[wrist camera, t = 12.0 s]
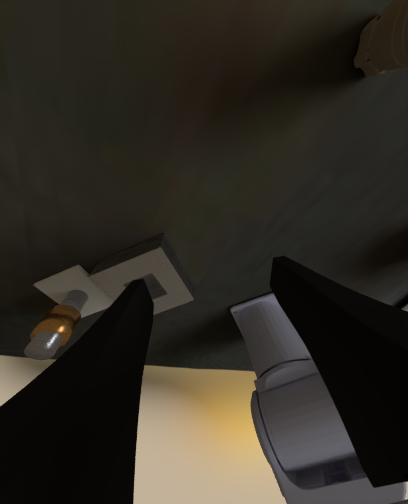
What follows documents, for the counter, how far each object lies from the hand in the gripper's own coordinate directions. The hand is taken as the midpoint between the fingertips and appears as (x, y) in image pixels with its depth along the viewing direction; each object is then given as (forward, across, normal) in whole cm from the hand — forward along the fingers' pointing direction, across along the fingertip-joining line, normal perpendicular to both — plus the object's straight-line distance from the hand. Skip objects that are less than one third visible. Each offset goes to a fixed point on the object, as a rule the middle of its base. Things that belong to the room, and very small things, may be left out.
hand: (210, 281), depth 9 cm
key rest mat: (+10, +16, +7) cm, 20 cm away
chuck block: (+10, +7, +6) cm, 13 cm away
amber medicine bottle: (+10, +16, +8) cm, 20 cm away
